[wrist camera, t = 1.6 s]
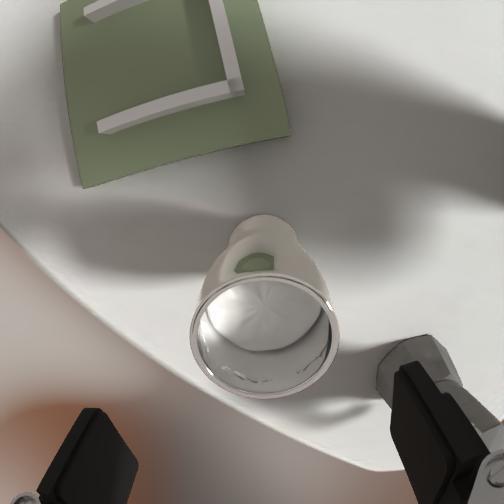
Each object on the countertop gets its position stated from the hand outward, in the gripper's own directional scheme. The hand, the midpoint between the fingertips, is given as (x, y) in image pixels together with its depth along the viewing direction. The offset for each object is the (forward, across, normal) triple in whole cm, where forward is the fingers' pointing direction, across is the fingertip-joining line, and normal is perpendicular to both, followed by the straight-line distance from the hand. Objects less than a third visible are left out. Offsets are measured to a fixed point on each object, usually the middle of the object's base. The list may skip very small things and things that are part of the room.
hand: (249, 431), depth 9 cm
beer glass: (+20, -1, 0) cm, 20 cm away
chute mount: (+20, +4, -19) cm, 28 cm away
